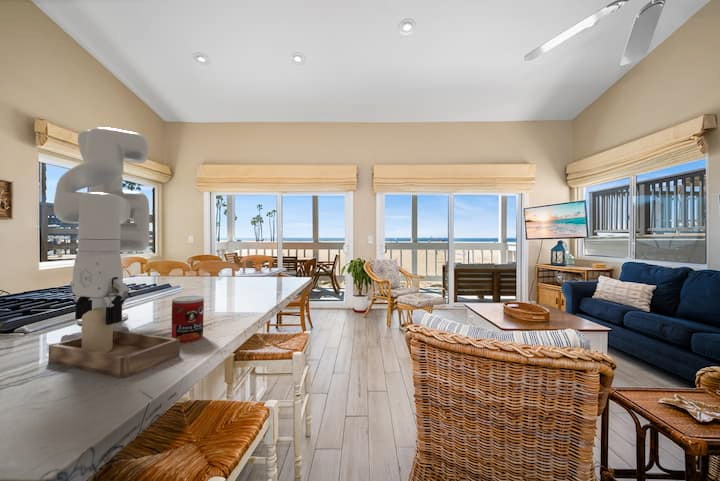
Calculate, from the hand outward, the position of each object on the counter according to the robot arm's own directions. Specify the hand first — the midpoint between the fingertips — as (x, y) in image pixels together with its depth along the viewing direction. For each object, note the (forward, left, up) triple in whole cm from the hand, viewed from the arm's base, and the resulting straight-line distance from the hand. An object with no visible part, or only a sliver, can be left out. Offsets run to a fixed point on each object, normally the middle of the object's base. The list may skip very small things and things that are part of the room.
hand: (98, 320), depth 74 cm
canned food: (+9, +16, -8) cm, 21 cm away
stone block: (-10, +5, -8) cm, 14 cm away
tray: (+7, 0, -8) cm, 10 cm away
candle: (0, 0, -7) cm, 7 cm away
